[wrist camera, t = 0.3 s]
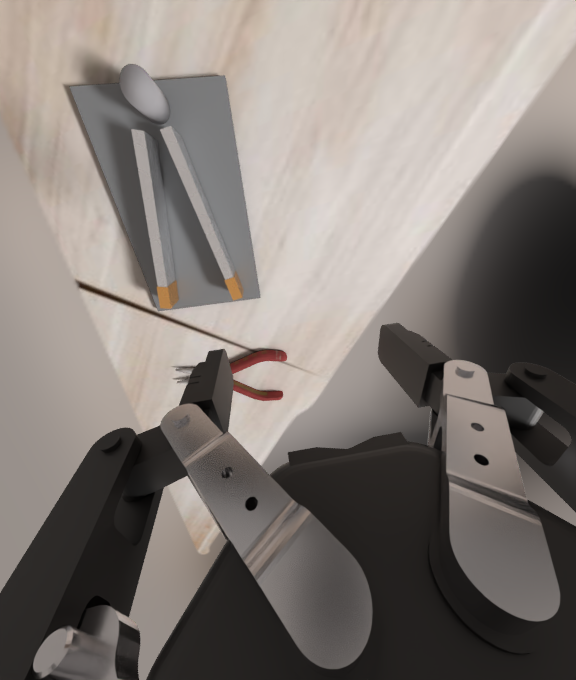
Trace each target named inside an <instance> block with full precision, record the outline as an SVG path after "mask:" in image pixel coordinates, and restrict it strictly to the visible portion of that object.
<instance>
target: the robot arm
mask: <svg viewBox="0 0 576 680" xmlns="http://www.w3.org/2000/svg"><path fill="white" fill-rule="evenodd" d="M378 355H379V359H380V361H381V363H382V364H383V365H384V366H385V367H386V369H387V370H388V371H389V373H390V374H391V375H392V376H393V377H394V379H395V380H396V381H397V382H398V384H399V385H400V386H401V387H402V388H403V390H404V391H405V392H406V393H407V394H408V395H409V397H410V398H411V399H412V400H413V402H414V403H415V404H416V405H417V407H418V408H419V407H425V406H430V407H431V408H432V410H431V413H430V423H429V435H428V446H427V445H424V444H419V443H415V442H409V441H406V439H405V438H404V436H403V435H402V433H401V432H399V433H393V434H388V435H382V436H377V437H373V438H371V439H369V440H367V441H364V442H362V443H360V444H358V445H356V446H354V447H352V448H349V449H335V448H334V449H333V448H318V447H316V448H310V449H305V450H299V451H293V452H288V455H289V462H288V463H286V464H284V465H282V466H280V467H279V468H277V469H276V470H275V471H274V472H272V473H271V474H270V475H269V474H268V473H267V472H266V471H265V470H264V469H263V467H262V466H261V465H260V464H259V463H258V462H257V461H256V460H255V459H254V458H253V457H252V456H251V455H250V454H249V453H248V452H247V451H246V450H245V449H244V448H243V446H242V445H241V444H240V443H239V442H238V441H237V440H236V439H235V438H234V437H233V436H232V435H231V434H230V433H229V432H228V427H229V419H230V411H231V402H232V394H233V386H234V382H233V375H232V371H231V367H230V364H229V360H228V357H227V353H226V351H225V349H221V350H214V351H209V352H208V355H207V358H206V361H205V362H201V363H199V364H198V365H197V366H196V367H195V368H194V369H193V370H192V373H191V375H190V379H189V381H188V383H187V384H188V385H187V386H186V388H185V391H184V394H183V396H182V399H181V401H180V404H179V406H178V407H176V408H174V409H172V410H171V411H169V412H168V413H167V414H166V415H165V416H164V418H163V419H162V421H161V425H160V426H158V427H155V428H153V429H150V430H148V431H145V432H143V433H141V434H138V435H136V433H135V432H134V431H133V429H131V428H120V429H117V430H114V431H112V432H110V433H108V434H106V435H105V436H103V437H102V438H100V439H99V440H98V441H97V442H96V443H95V444H94V445H93V446H92V447H91V449H90V450H89V452H88V453H87V455H86V456H85V458H84V460H83V461H82V463H81V464H80V466H79V468H78V469H77V471H76V473H75V474H74V476H73V477H72V479H71V481H70V482H69V484H68V485H67V487H66V488H65V490H64V492H63V493H62V495H61V496H60V498H59V500H58V501H57V503H56V504H55V507H54V508H53V509H52V511H51V513H50V514H49V516H48V517H47V519H46V521H45V522H44V524H43V525H42V527H41V529H40V530H39V532H38V533H37V535H36V537H35V538H34V540H33V541H32V543H31V545H30V546H29V548H28V549H27V551H26V553H25V554H24V556H23V557H22V559H21V561H20V562H19V564H18V565H17V567H16V569H15V570H14V572H13V573H12V575H11V577H10V578H9V580H8V581H7V583H6V585H5V586H4V588H3V589H2V591H1V593H0V680H139V674H138V658H139V651H140V631H139V628H138V626H137V624H136V623H135V622H134V621H133V620H132V619H131V618H129V614H130V611H131V607H132V603H133V600H134V596H135V592H136V588H137V585H138V581H139V577H140V574H141V570H142V566H143V563H144V559H145V555H146V552H147V548H148V544H149V540H150V537H151V533H152V529H153V526H154V522H155V518H156V514H157V511H158V507H159V503H160V500H161V496H162V492H163V489H164V487H165V486H167V485H169V484H171V483H173V482H175V481H177V480H179V479H182V478H184V477H186V476H188V478H189V479H190V481H191V483H192V484H193V486H194V488H195V489H196V491H197V493H198V494H199V496H200V498H201V499H202V501H203V502H204V504H205V506H206V507H207V509H208V511H209V512H210V514H211V516H212V518H213V519H214V521H215V523H216V524H217V526H218V528H219V530H220V531H221V533H222V534H223V536H224V538H225V539H226V541H227V542H226V544H225V545H224V547H223V549H222V550H221V552H220V554H219V555H218V557H217V559H216V560H215V562H214V564H213V565H212V567H211V569H210V570H209V572H208V574H207V575H206V577H205V579H204V580H203V582H202V584H201V585H200V587H199V589H198V590H197V592H196V594H195V595H194V597H193V599H192V600H191V602H190V604H189V605H188V607H187V609H186V610H185V612H184V614H183V615H182V617H181V619H180V620H179V622H178V623H177V625H176V627H175V629H174V630H173V632H172V634H171V635H170V637H169V639H168V640H167V642H166V643H165V645H164V647H163V648H162V650H161V652H160V654H159V655H158V657H157V659H156V661H155V663H154V665H153V666H152V668H151V670H150V673H149V675H148V677H147V679H146V680H576V526H574V525H572V524H570V523H569V522H567V521H565V520H563V519H561V518H560V517H558V516H556V515H554V514H552V513H551V512H549V511H547V510H545V509H543V508H542V507H540V506H538V505H536V504H535V503H533V502H531V501H529V500H527V498H526V494H525V489H524V486H523V482H522V478H521V473H520V469H519V465H518V461H517V457H516V453H517V454H518V455H519V456H520V457H521V458H522V459H523V460H524V461H525V462H526V463H527V464H528V465H529V466H530V467H531V468H532V469H533V470H534V471H535V472H536V473H537V474H538V475H539V476H540V477H541V478H542V479H543V480H544V481H545V482H546V483H547V484H548V485H549V486H550V487H551V488H552V489H553V490H554V491H555V492H556V493H557V494H558V495H559V496H560V497H561V498H562V499H563V500H564V501H565V502H566V503H567V504H568V505H569V506H570V507H571V508H572V509H573V510H574V511H575V512H576V385H575V384H574V383H572V382H571V381H569V380H567V379H565V378H564V377H562V376H560V375H559V374H557V373H555V372H553V371H552V370H550V369H547V368H545V367H542V366H539V365H535V364H531V363H514V364H512V365H510V367H509V369H508V371H507V373H506V374H504V373H487V372H486V371H485V370H484V369H483V368H482V367H480V366H479V365H476V364H474V363H471V362H468V361H463V360H452V359H451V358H449V357H448V356H446V355H445V354H444V353H443V352H441V351H440V350H439V349H438V348H436V347H435V346H433V345H432V344H431V343H429V342H428V341H427V340H426V339H424V338H423V337H421V336H420V335H419V334H416V333H414V332H412V331H408V330H406V329H405V328H404V327H403V326H402V325H400V324H399V323H393V324H387V325H382V326H381V329H380V339H379V347H378ZM543 412H545V413H546V414H547V415H549V416H550V417H552V418H553V419H554V420H555V421H557V422H558V423H559V424H561V425H562V426H563V427H565V428H566V429H567V431H568V432H569V433H570V435H571V439H572V442H571V444H570V446H569V447H567V446H566V445H565V444H564V443H563V442H561V441H560V440H559V439H558V438H556V437H555V436H554V435H553V434H551V433H550V432H549V431H548V430H547V429H545V428H544V427H543V426H542V425H540V424H539V423H538V420H539V418H540V417H541V415H542V413H543ZM515 452H516V453H515Z"/></svg>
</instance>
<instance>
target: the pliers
mask: <svg viewBox="0 0 576 680" xmlns="http://www.w3.org/2000/svg"><path fill="white" fill-rule="evenodd" d="M286 360H287V355H286V353H285V352H284V351H275V350H262V351H258V352H255V353H253V354H250V355H248V356H246V357H244V358H241V359H239V360H237V361H235V362H233V363H230V367H231V371H232V374H234V373H236V372H238V371H241V370H243V369H245V368H247V367H250V366H252V365H254V364H257V363H259V362H263V361H286ZM193 369H194V368H183V369H176V371H180V372H183V373H187V374H191V373H192V370H193ZM188 381H189V379H186V380H181V381H177V383H185V384H187V383H188ZM233 382H234V386H233V390H234V391H236V392H239V393H241V394H244V395H246V396H248V397H251V398H254V399H257V400H262V401H269V400H280V399H281V398H282V397H283V392H282V391H260V390H256V389H254V388H251V387H249V386H247V385H245V384H242V383H240V382H238V381H235V380H233Z"/></svg>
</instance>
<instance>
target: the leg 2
mask: <svg viewBox="0 0 576 680" xmlns="http://www.w3.org/2000/svg"><path fill="white" fill-rule="evenodd" d="M160 131H161V134H162V136H163V138H164V140H165V143H166V145H167V147H168V150H169V152H170V154H171V157H172V159H173V161H174V163H175V166H176V168H177V170H178V173H179V175H180V177H181V180H182V182H183V184H184V186H185V189H186V191H187V193H188V196H189V198H190V200H191V203H192V205H193V207H194V209H195V212H196V214H197V216H198V219H199V221H200V223H201V226H202V228H203V230H204V232H205V235H206V237H207V239H208V242H209V244H210V246H211V249H212V251H213V253H214V255H215V258H216V260H217V262H218V265H219V267H220V269H221V272H222V274H223V276H224V278H225V280H224V281H225V283H226V285H227V288H228V290H229V292H230V294H231V297H232V299H233V301H234V300H237V299H240V298H243V292H244V289H243V287H242V284H241V282H240V279H239V277H238V274H237V272H236V271H235V269H234V266H233V264H232V261H231V259H230V256H229V254H228V251H227V249H226V246H225V244H224V242H223V239H222V237H221V234H220V232H219V229H218V227H217V224H216V222H215V219H214V217H213V214H212V212H211V209H210V207H209V204H208V202H207V199H206V197H205V194H204V192H203V190H202V187H201V185H200V182H199V180H198V177H197V175H196V172H195V170H194V167H193V165H192V162H191V160H190V157H189V155H188V152H187V150H186V147H185V145H184V142H183V140H182V138H181V136H180V135H179V133H178V132H177V131H176V130H175V129H174V128H173V127H172V126H169V127H166V128H163V129H160Z"/></svg>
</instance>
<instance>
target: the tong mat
mask: <svg viewBox="0 0 576 680" xmlns="http://www.w3.org/2000/svg"><path fill="white" fill-rule="evenodd" d="M119 81H120V83H112V84H98V85H84V86H70V90H71V92H72V95H73V97H74V100H75V102H76V105H77V107H78V110H79V113H80V115H81V118H82V120H83V123H84V125H85V128H86V130H87V133H88V135H89V138H90V140H91V143H92V145H93V148H94V150H95V153H96V156H97V158H98V161H99V163H100V166H101V168H102V171H103V173H104V176H105V178H106V181H107V183H108V186H109V188H110V191H111V193H112V196H113V199H114V201H115V204H116V206H117V209H118V211H119V214H120V216H121V219H122V221H123V224H124V226H125V229H126V231H127V234H128V236H129V239H130V242H131V244H132V247H133V249H134V252H135V254H136V257H137V259H138V262H139V264H140V267H141V269H142V272H143V274H144V277H145V279H146V282H147V285H148V287H149V290H150V292H151V295H152V297H153V300H154V302H155V305H156V307H157V310H158V311H164V310H171V309H179V308H187V307H194V306H202V305H210V304H217V303H225V302H233V299H232V297H231V294H230V292H229V290H228V288H227V285H226V283H225V281H224V280H225V278H224V276H223V274H222V272H221V269H220V267H219V265H218V262H217V260H216V258H215V255H214V253H213V251H212V249H211V246H210V244H209V242H208V239H207V237H206V235H205V232H204V230H203V228H202V226H201V223H200V221H199V219H198V216H197V214H196V212H195V209H194V207H193V205H192V203H191V200H190V198H189V196H188V193H187V191H186V189H185V186H184V184H183V182H182V180H181V177H180V175H179V173H178V170H177V168H176V166H175V163H174V161H173V159H172V157H171V154H170V152H169V150H168V147H167V145H166V143H165V140H164V138H163V136H162V134H161V131H160V129H163V128H166V127H169V126H172V127H173V128H174V129H175V130H176V131H177V132H178V133H179V135H180V136H181V138H182V140H183V142H184V145H185V147H186V150H187V152H188V155H189V157H190V160H191V162H192V165H193V167H194V170H195V172H196V175H197V177H198V180H199V182H200V185H201V187H202V190H203V192H204V194H205V197H206V199H207V202H208V204H209V207H210V209H211V212H212V214H213V217H214V219H215V222H216V224H217V227H218V229H219V232H220V234H221V237H222V239H223V242H224V244H225V246H226V249H227V251H228V254H229V256H230V259H231V261H232V264H233V266H234V269H235V271H236V272H237V274H238V277H239V279H240V282H241V284H242V287H243V289H244V292H243V298H240V299H237V300H234V301H240V300H248V299H255V298H260V291H259V285H258V279H257V272H256V266H255V260H254V253H253V247H252V241H251V235H250V228H249V222H248V216H247V209H246V203H245V197H244V190H243V184H242V178H241V171H240V165H239V159H238V153H237V146H236V140H235V134H234V127H233V121H232V115H231V108H230V102H229V96H228V89H227V83H226V78H225V75H224V76H210V77H196V78H182V79H168V80H154V81H153V80H152V78H151V77H150V76H149V74H148V73H147V72H146V71H145V70H144V69H143V68H142V67H140V66H138V65H135V64H128V65H126V66H125V67H123V69H122V70H121V73H120V78H119ZM131 129H135V130H141V131H145V132H146V133H148V134H149V135H150V136H152V137H153V138H154V139H156V140H157V142H158V150H159V158H160V165H161V173H162V181H163V188H164V196H165V204H166V211H167V219H168V227H169V235H170V242H171V250H172V258H173V265H174V273H175V280H176V281H177V289H178V297H179V300H178V301H177V303H176V304H175V305H174V306H173V307H172V308H171V309H165V308H160V304H159V298H158V292H157V286H158V285H157V280H156V274H155V268H154V262H153V256H152V250H151V244H150V238H149V232H148V226H147V220H146V214H145V208H144V202H143V196H142V190H141V184H140V178H139V172H138V167H137V161H136V155H135V149H134V143H133V137H132V131H131Z"/></svg>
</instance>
